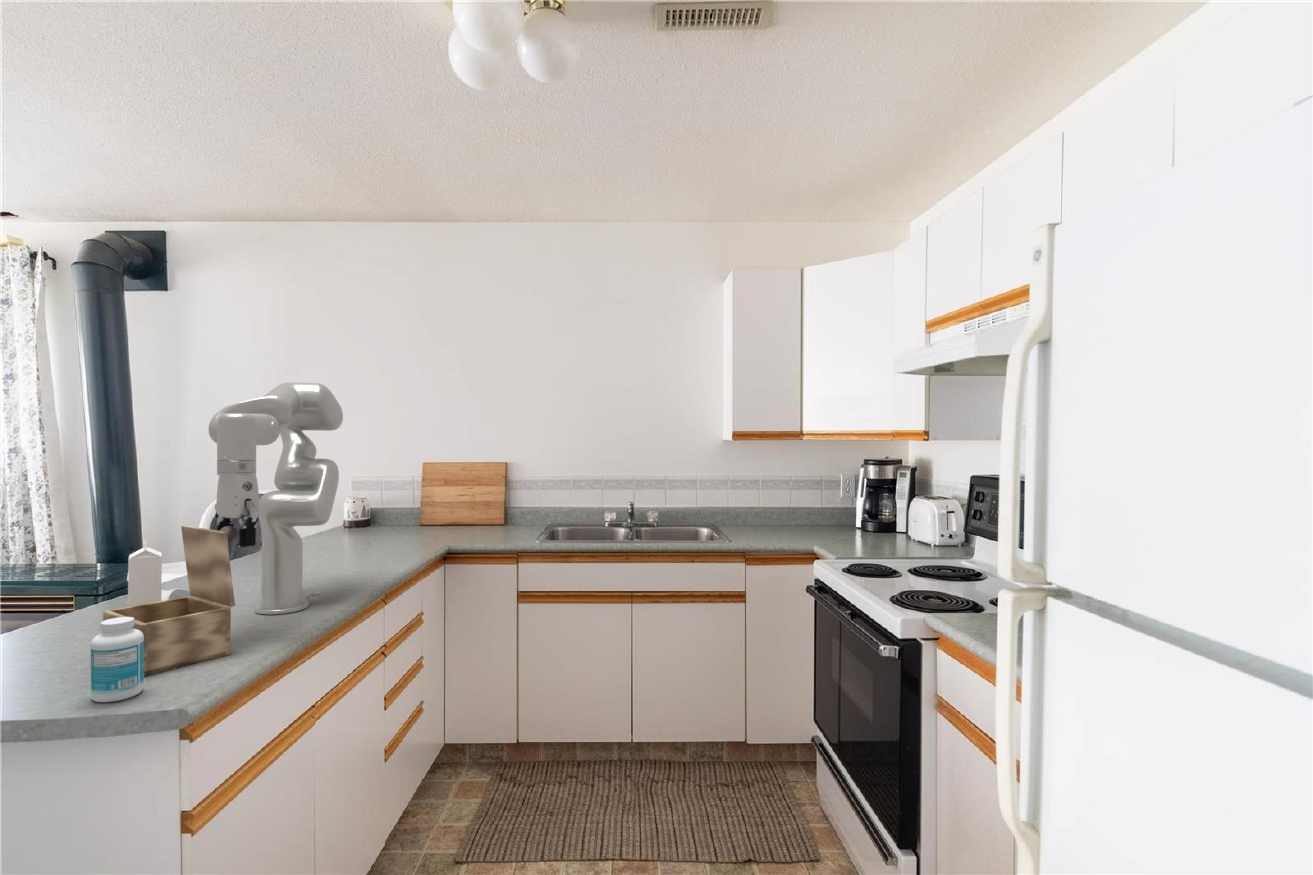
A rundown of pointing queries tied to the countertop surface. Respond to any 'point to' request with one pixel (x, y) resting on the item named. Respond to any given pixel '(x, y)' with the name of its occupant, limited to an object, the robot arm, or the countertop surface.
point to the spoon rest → (174, 594)
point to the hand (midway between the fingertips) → (236, 544)
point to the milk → (144, 576)
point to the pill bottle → (117, 661)
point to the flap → (209, 563)
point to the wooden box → (179, 631)
